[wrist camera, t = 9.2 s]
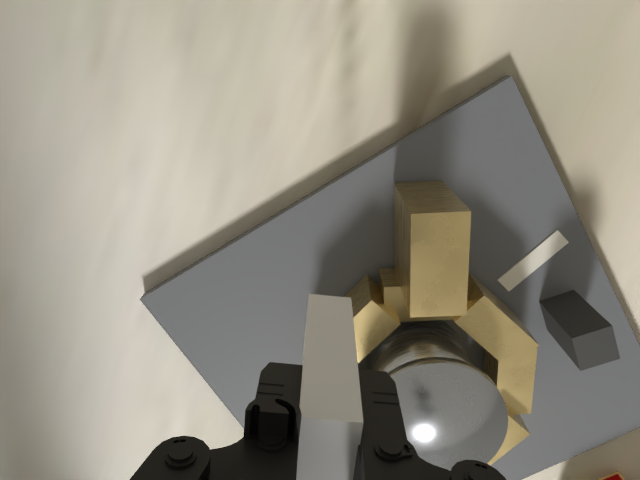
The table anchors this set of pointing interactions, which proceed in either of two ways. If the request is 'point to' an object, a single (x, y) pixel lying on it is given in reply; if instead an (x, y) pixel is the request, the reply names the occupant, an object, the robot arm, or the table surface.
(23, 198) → the table surface
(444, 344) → the cylinder
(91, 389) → the table surface
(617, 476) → the rubik's cube
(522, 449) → the cap plate
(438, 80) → the table surface
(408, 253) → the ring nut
